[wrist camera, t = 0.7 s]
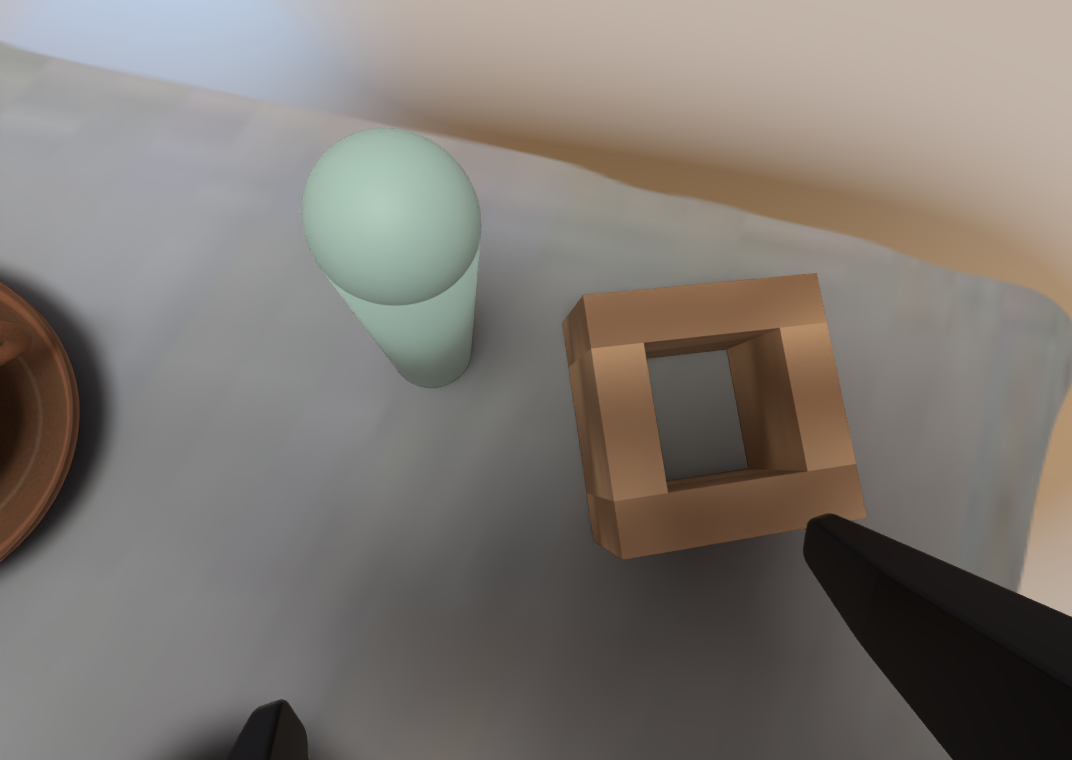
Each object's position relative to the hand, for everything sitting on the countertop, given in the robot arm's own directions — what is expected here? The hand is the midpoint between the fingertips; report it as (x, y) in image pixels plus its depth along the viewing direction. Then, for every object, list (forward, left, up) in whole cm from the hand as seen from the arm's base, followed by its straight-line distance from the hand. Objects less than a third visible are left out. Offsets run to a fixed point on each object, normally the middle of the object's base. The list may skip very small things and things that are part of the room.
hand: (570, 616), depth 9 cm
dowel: (+7, +2, -13) cm, 15 cm away
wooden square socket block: (+3, -8, -13) cm, 15 cm away
